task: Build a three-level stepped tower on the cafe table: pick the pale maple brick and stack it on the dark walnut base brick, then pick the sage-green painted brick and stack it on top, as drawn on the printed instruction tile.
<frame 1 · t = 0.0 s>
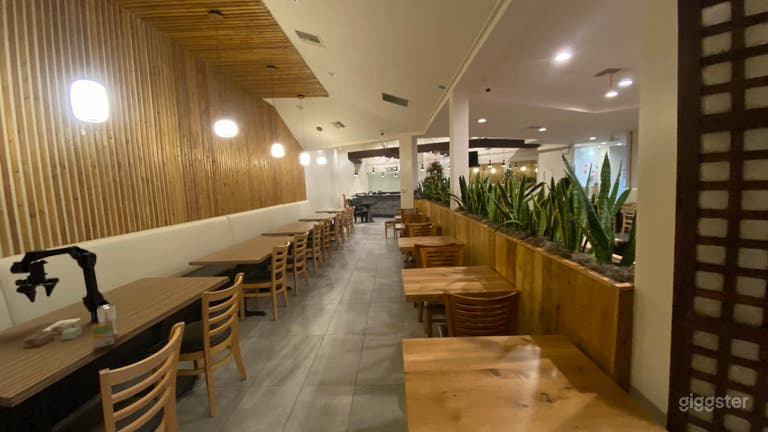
hand: (40, 299, 171), 15 cm above the table, fingers open, 9 cm apart
maple brick: (63, 331, 163), on the table
beer glass: (108, 335, 157), on the table
sage brick: (72, 337, 156), on the table
instruction page: (62, 324, 171), on the table
walnut base brick: (40, 343, 150), on the table
crayon box: (104, 345, 146), on the table
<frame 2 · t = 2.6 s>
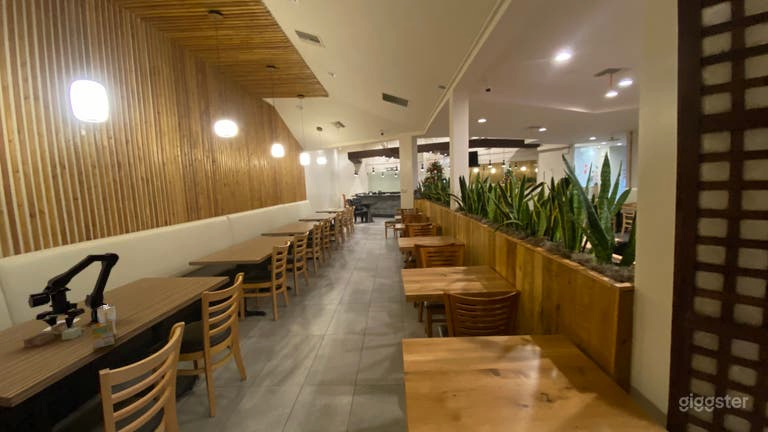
hand: (62, 329, 163), 1 cm above the table, fingers closed on maple brick, 6 cm apart
maple brick: (63, 331, 163), on the table, touching gripper
everything else where it was.
when the fingers open (6 cm above the table, at t = 6.1 s): maple brick drops 2 cm, resting on walnut base brick.
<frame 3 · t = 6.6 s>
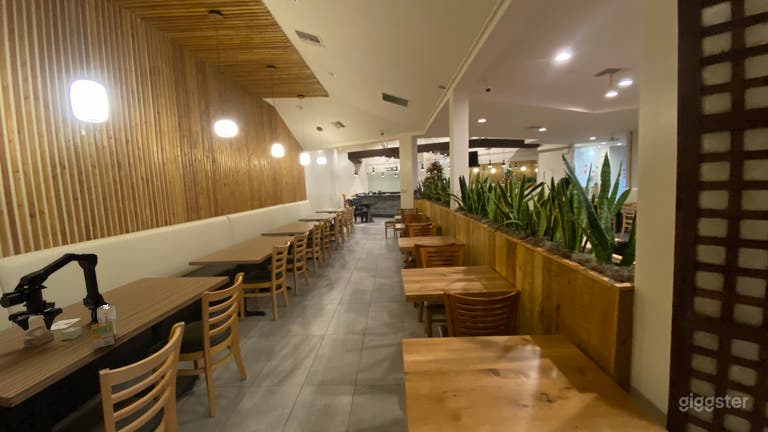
hand: (38, 330, 149), 6 cm above the table, fingers open, 9 cm apart
maple brick: (38, 335, 150), point 4 cm above the table, touching walnut base brick
walnut base brick: (39, 343, 150), on the table, touching maple brick
everything else where it was.
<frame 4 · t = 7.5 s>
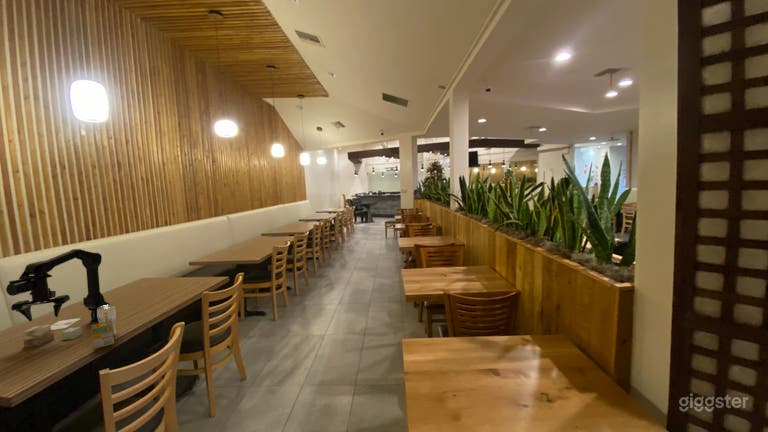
hand: (44, 318, 150), 12 cm above the table, fingers open, 9 cm apart
nothing on the table moved.
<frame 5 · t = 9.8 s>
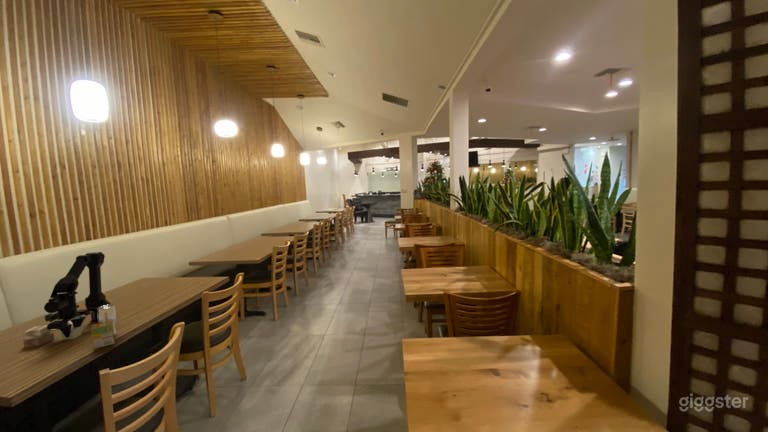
hand: (72, 334, 156), 1 cm above the table, fingers closed on sage brick, 5 cm apart
maple brick: (38, 335, 150), point 4 cm above the table
sage brick: (72, 336, 156), on the table, touching gripper
walnut base brick: (39, 343, 150), on the table
everything else where it was.
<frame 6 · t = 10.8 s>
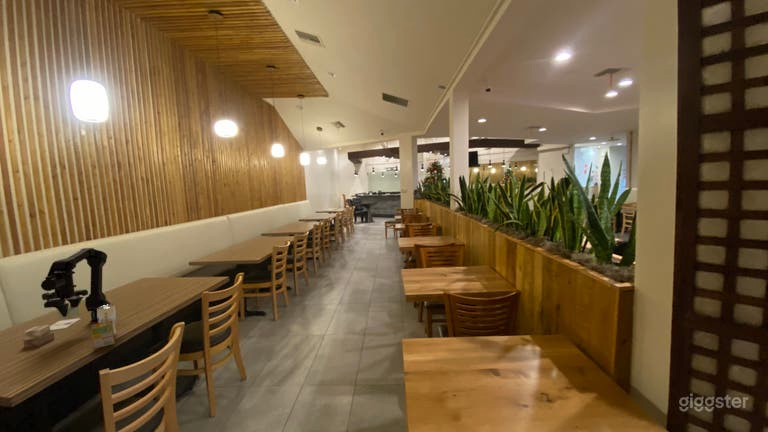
hand: (69, 314, 155), 12 cm above the table, fingers closed on sage brick, 5 cm apart
maple brick: (38, 336, 149), point 4 cm above the table, touching walnut base brick
sage brick: (69, 316, 155), point 11 cm above the table, touching gripper
walnut base brick: (39, 343, 150), on the table, touching maple brick
everything else where it was.
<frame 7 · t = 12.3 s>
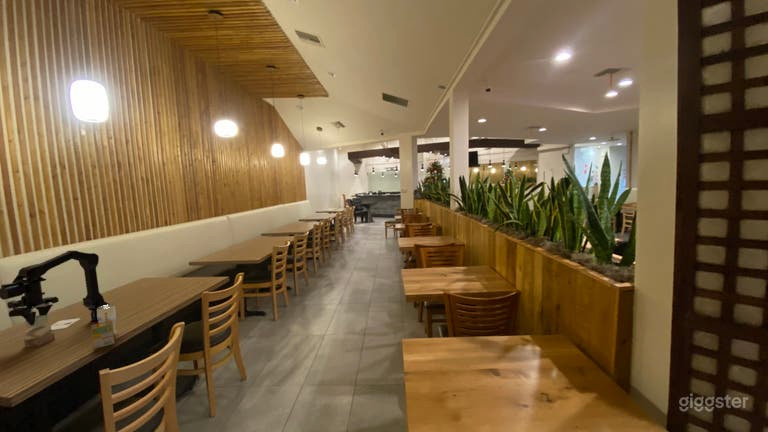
hand: (37, 323, 149), 10 cm above the table, fingers closed on sage brick, 5 cm apart
sage brick: (37, 325, 149), point 9 cm above the table, touching gripper
everything else where it was.
when the fingers open (10 cm above the table, at t = 12.3 s): sage brick drops 2 cm, resting on maple brick.
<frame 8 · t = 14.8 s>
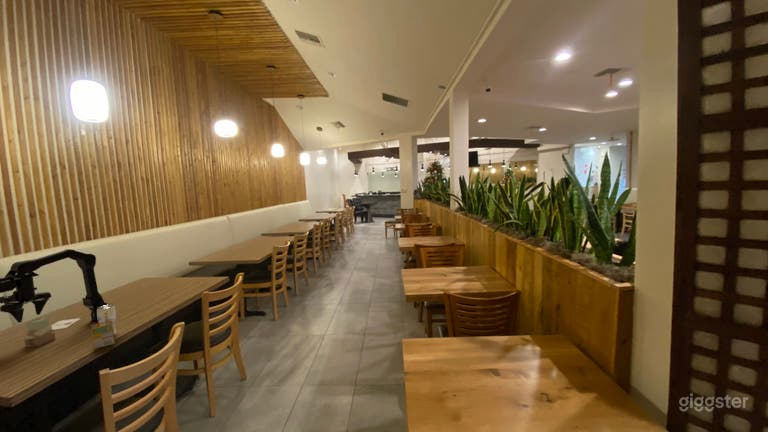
hand: (29, 318, 148), 13 cm above the table, fingers open, 9 cm apart
maple brick: (39, 335, 150), point 4 cm above the table, touching sage brick, walnut base brick
sage brick: (38, 327, 149), point 8 cm above the table, touching maple brick
everything else where it was.
at the end: maple brick 0.0 cm off-centre on the walnut base brick, point 4.0 cm above the walnut base brick's base; sage brick 0.0 cm off-centre on the walnut base brick, point 8.0 cm above the walnut base brick's base; sage brick tilted 0° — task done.
